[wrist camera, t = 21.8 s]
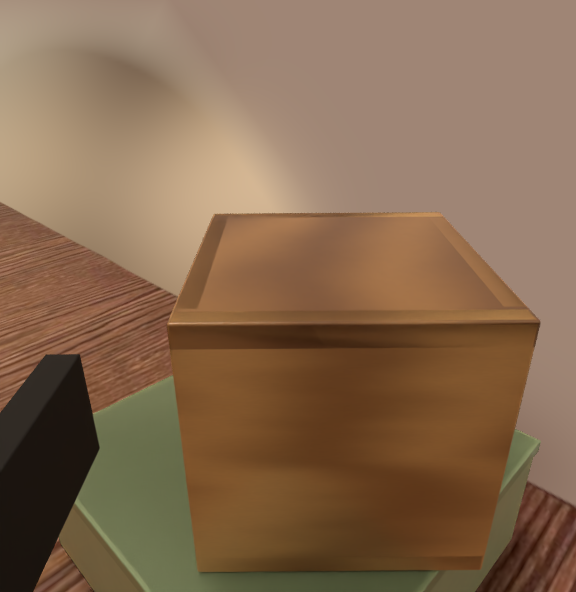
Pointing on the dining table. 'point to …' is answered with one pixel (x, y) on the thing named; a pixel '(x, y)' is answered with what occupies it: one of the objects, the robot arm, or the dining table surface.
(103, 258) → the dining table surface
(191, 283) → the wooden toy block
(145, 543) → the green box
